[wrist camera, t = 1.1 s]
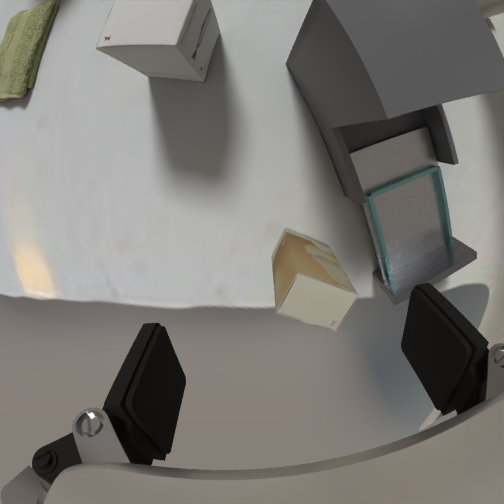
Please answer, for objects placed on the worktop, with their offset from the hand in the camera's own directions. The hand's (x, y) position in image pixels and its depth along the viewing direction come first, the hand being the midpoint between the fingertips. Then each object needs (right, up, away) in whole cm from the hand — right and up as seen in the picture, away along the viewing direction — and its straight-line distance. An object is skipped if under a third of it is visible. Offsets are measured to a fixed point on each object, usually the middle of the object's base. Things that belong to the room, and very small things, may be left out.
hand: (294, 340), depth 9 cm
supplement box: (-9, +26, +15) cm, 32 cm away
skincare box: (+4, +3, +24) cm, 25 cm away
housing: (+13, +19, +17) cm, 29 cm away
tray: (+17, +10, +21) cm, 29 cm away
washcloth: (-38, +35, +12) cm, 54 cm away
